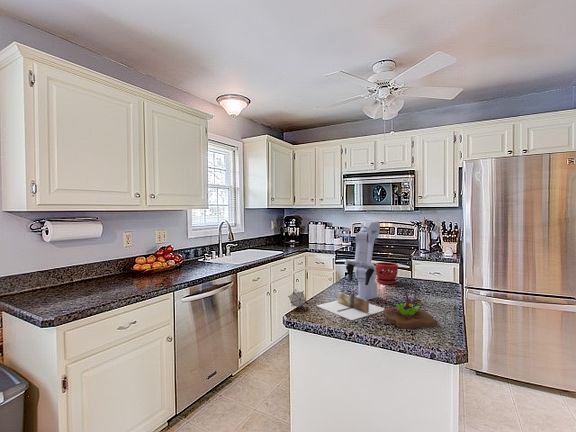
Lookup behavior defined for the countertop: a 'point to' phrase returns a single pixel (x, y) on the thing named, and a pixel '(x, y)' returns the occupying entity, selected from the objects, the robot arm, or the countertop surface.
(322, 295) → the countertop surface
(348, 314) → the card
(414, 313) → the plant
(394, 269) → the plant pot
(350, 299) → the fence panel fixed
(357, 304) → the brown wooden board
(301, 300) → the game die
